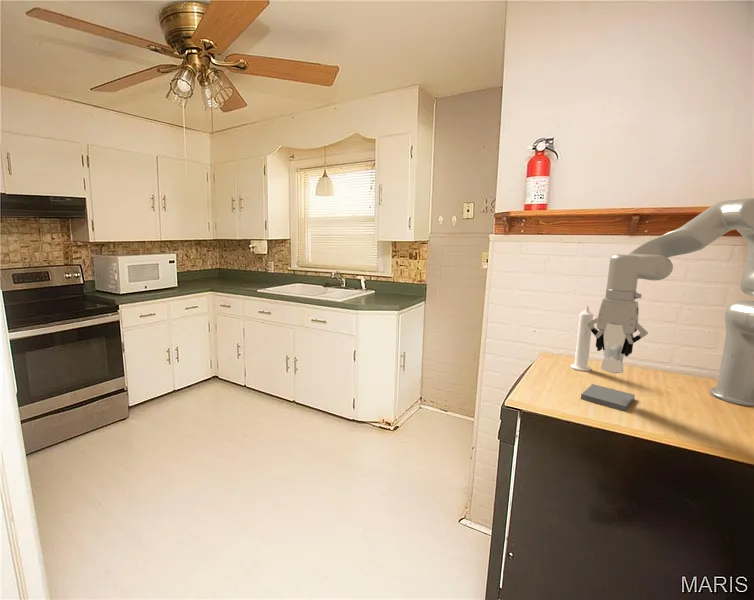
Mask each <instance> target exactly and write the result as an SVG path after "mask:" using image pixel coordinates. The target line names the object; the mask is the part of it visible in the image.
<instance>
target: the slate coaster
mask: <svg viewBox="0 0 754 600" xmlns="http://www.w3.org/2000/svg"><path fill="white" fill-rule="evenodd" d="M580 394H581V395H580V399H581V400H584V401H588V402H590V403H591V402H592V403H596V404H599V405H602V406H607V407H609V408H612V409H617V410H619V411H624V412H626V411H627V410H628V409H629V407H630V405H631V404H632V402H634V400H635V396H636V395H635V394H633V393H630V392H626V391H621V390H618V389H613V388H611V387H610V388H609V387H605V386H601V385H598V384H594V383H592V384H591V385H590V386H589V387H587V388H586V389H585V390H584V391H583V392H582V393H580Z"/></svg>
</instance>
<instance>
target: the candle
mask: <svg viewBox="0 0 754 600" xmlns="http://www.w3.org/2000/svg"><path fill="white" fill-rule="evenodd" d="M593 320H594V314H593V313H592V312H591V311H590V309H589V305H586V306H585V309H584V310H582V311H581V312H579V319H578V327H577V337H576V346H575V347H576V348H575V356H574V363H571V364H570V368H571V369H572V370H576V371H578V372H590V371H591V370H592V367H591V366H589V365H588V363H589V357H590V347H591V337H592V331H591V330H590V329H589V327H588V326H587V323H589V322H591V321H593Z"/></svg>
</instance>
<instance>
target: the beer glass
mask: <svg viewBox="0 0 754 600" xmlns="http://www.w3.org/2000/svg"><path fill="white" fill-rule="evenodd" d="M627 342H628V340H627V338H626V334H624V332H623V328H622V325H616V324H610V323H607V326H606V328H605V330H604V331H603V334H602V355H603V356H602V361H601V363H600V370H601V371H604V372H608V373H613V374H621V373H622V374H623V372H624V357H625V348H626V343H627Z"/></svg>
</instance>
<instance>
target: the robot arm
mask: <svg viewBox="0 0 754 600" xmlns="http://www.w3.org/2000/svg"><path fill="white" fill-rule="evenodd" d="M731 231H737V232H738V233H739V234H740V235H741V237H743V239H744V240H745V242H746V244H747V250H748V252H747V256H746V257H747V258H746V261H745V264H744V267H743V271H742V274H741V275H742V276H741V279H740V284H739V285H740V290H741V292H743V294H744V295H748V296H751V297H754V198H753V197H751V198H741V199H740V198H739V199H731V200H724V201H723V200H722V201H720V202H717V203H715V204H712V205H711V206H709V207H708V208H706V209H705V210H704V211H703V212H701V213H699V214H698V215H697V216H695V217H694V218H692V219H690V220H689V221H687V222H686V223H685V224H683V225H682V226H681V227H678V228H676V229H674V230H671V231H668V232H667V233H665V234H663V235H660V236H657V237H655V238H652V239H649V240H648V241H646V242H644V243H642V244H640V245H639V246H638V247H637V248H635V249H633V250H632V251H630V252H629V253H628V254H619V253H618V254H612V255H611V256H610V259H609V265H608V274H607V281H606V289H605V297H603V298H602V300H601V303H600V306H599V310H598V315H597V317H596V318H593V321H591V322H589V323H587V326H588V327H589V329H590V330H591V334H593V335H594V336H595V338H596V340H595V341H596V342H595V348H596V349H597V350H596V351H598V352H599V351H601V350H602V351H603V347H602V334H603V331H604V330H605V328H606V326H607V323H610V324H616V325H622V328H623V332H624V334H626V338H627V340H628V342H627V343H626V348H625V354H624V357H627V358H628V356H630V355H632V353H633V348H634V344H635V343H636V342H638V341H640V340H641V339H642V338H644V337H645V336H647V335H648V334H649V332H648V330H646V329H645V328H644V327H643V326H642V325H641V324H640V323H639V313H640V312H639V309H640V308H639V301H636V300H637V299H642V293H638V292H637V287H638V282H639V281H638V280H639V279H641V280H646V281H661V280H664V279H666V278H668V277H669V276H670V275H671V274H672V272H673V269H674V264H673V262H672V260H671V259H669V258H671V257H676V256H681V255H682V256H683V255H687V254H691V253H695V252H699V251H701V250H703V249H705V248H706V247H707V246H709V245H710V244H712V243H713V242H715V241H716V240H717V239H720V238H721V237H722V236H724V235H725V234H727V233H728V232H731ZM724 321H725V337H724V338H725V339H724V344H723V345H724V346H723V351H722V357H721V362H720V369H719V374H718V379H717V384H716V385H717V386H714V387H711V388H710V389H709V393H710V395H712V396H713V397H715V398H716V399H720V400H722V401H725V402H728V403H732V404H737V405H740V406H748V407H754V300H751V299H750V300H749V299H746V300H745V299H743V300H737V301H733V302H732V303H731V304H730V305H729V306H727V308H726V310H725V313H724ZM595 325H596V327H595ZM637 331H638V332H639V334H637V335H636V336H634V335H633V334H634V333H636V332H637Z"/></svg>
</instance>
